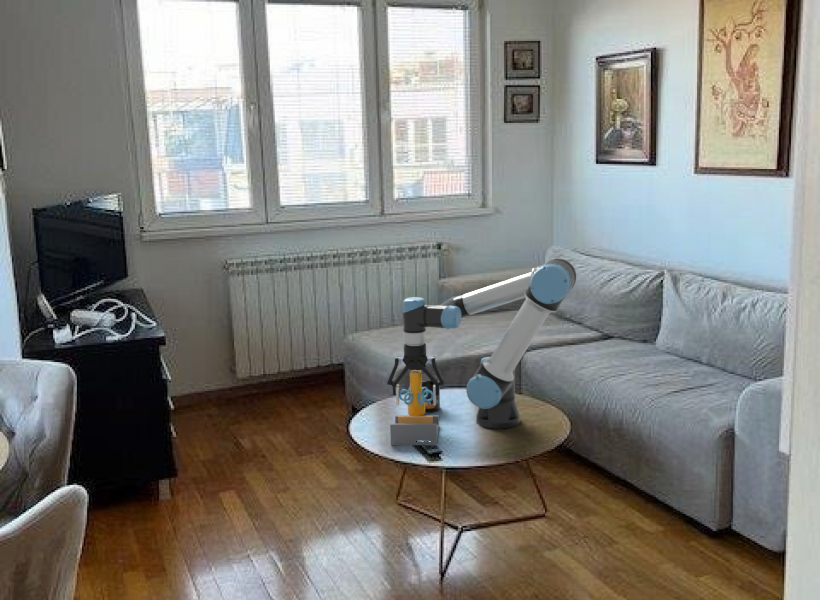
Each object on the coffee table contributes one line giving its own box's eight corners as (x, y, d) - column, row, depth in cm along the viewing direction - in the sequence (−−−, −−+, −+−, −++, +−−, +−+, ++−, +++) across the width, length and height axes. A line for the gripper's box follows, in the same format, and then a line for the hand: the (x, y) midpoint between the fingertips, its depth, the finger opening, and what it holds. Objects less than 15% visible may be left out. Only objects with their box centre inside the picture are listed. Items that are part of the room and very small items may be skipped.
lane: (438, 426, 292) (438, 407, 290) (436, 445, 274) (436, 424, 273) (395, 426, 293) (395, 407, 291) (390, 445, 275) (390, 424, 274)
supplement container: (410, 413, 306) (409, 381, 303) (413, 404, 316) (412, 373, 314) (438, 413, 304) (438, 382, 302) (441, 404, 315) (441, 373, 312)
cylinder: (396, 418, 286) (395, 375, 283) (401, 408, 296) (400, 367, 293) (432, 419, 284) (431, 376, 281) (436, 409, 294) (435, 367, 291)
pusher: (433, 432, 284) (432, 415, 283) (432, 434, 283) (432, 417, 282) (398, 432, 285) (398, 416, 284) (398, 434, 284) (397, 417, 283)
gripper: (451, 340, 288) (452, 400, 292) (380, 340, 290) (382, 400, 294) (450, 345, 280) (451, 407, 285) (377, 345, 283) (379, 407, 287)
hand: (416, 404), depth 289 cm, fingers closed on cylinder, 12 cm apart
